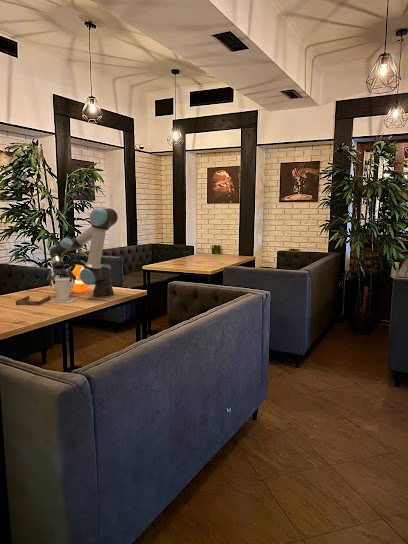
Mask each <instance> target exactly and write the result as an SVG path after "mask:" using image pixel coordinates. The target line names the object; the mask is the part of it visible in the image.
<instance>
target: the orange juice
mask: <svg viewBox="0 0 408 544" xmlns="http://www.w3.org/2000/svg"><path fill="white" fill-rule="evenodd" d="M83 269H84V265H80V264H75V267H74V269H72V271H71V272H72V273H73V274H74V275H75V276H76V277H77V278H76V280H75V284H74V286H75V287H74V289H73V288H72V291H73V292H79V293H82V292H88V291H89V285H86V284H84V283H83V282H82V280H81V279H80V272H81V270H83ZM87 290H88V291H87Z"/></svg>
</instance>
